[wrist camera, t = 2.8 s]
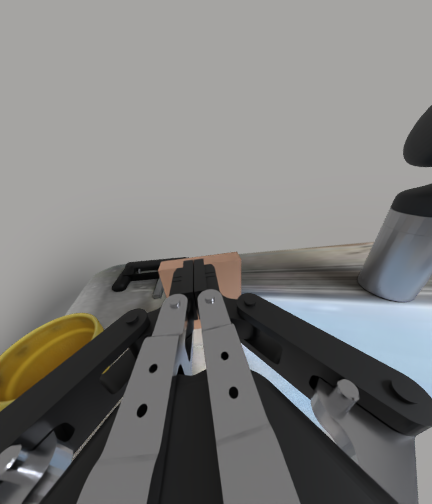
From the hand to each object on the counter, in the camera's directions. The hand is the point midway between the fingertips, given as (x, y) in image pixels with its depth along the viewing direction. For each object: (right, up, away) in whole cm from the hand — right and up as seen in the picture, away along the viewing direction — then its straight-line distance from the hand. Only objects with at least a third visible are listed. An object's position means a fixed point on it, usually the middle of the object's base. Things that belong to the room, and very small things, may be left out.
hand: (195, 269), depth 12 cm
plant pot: (-18, -19, +11) cm, 28 cm away
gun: (-16, -7, +33) cm, 37 cm away
